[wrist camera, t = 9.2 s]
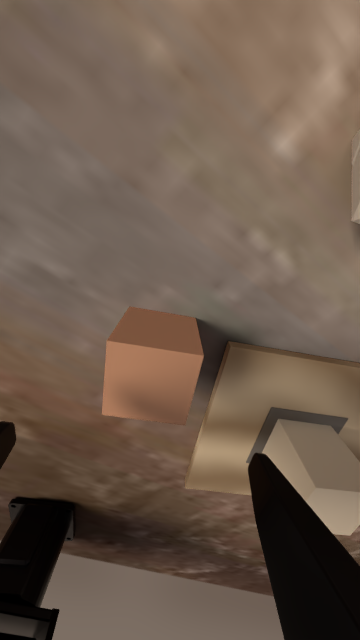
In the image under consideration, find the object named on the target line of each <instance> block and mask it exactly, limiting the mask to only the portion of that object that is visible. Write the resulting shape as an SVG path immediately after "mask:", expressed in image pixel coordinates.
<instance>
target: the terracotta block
mask: <svg viewBox="0 0 360 640" xmlns="http://www.w3.org/2000/svg"><path fill="white" fill-rule="evenodd" d="M203 357H204V354H203V350H202V345H201V340H200V336H199V331H198V326H197V322H196V318H193V317H187V316H181V315H176V314H170V313H164V312H158V311H152V310H147V309H141V308H135V307H129V308H128V310H127V311H126V313H125V314H124V316H123V317H122V319H121V320H120V322H119V323H118V325H117V326H116V328H115V329H114V331H113V332H112V334H111V335H110V337H109V338H108V340H107V347H106V362H105V377H104V392H103V408H102V415H108V416H116V417H123V418H131V419H139V420H146V421H154V422H162V423H169V424H177V425H185V424H186V421H187V417H188V413H189V409H190V406H191V402H192V398H193V395H194V391H195V387H196V383H197V380H198V376H199V372H200V368H201V365H202V361H203Z"/></svg>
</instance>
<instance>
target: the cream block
mask: <svg viewBox="0 0 360 640" xmlns="http://www.w3.org/2000/svg"><path fill="white" fill-rule="evenodd" d="M262 453H264V454H266V455H267V456H268V457H269V458H270V459H271V461H272V462H273V463H274V464H275V465H276V467H277V468H278V469H279V470H280V471H281V473H282V474H283V475H284V476H285V477H286V479H287V480H288V481H289V482H290V483H291V485H292V486H293V487H294V488H295V489H296V490H297V492H298V493H299V494H300V495H301V496H302V498H303V499H304V500H305V501H306V502H307V504H308V505H309V506H310V507H311V508H312V510H313V511H314V512H315V513H316V514H317V516H318V517H319V518H320V519H321V520H322V521H323V523H324V524H325V525H326V526H327V527H328V529H329V530H330V531H331V532H332V533H333V534H339V535H351V534H352V533H353V532H354V530H355V529H356V528H357V527H358V526H359V525H360V462H359V460H358V459H357V458H356V457H355V455H354V454H353V453H352V452H351V450H350V449H349V448H348V447H347V445H346V444H345V443H344V442H343V440H342V439H341V438H340V437H339V435H338V434H337V433H336V432H335V430H334V429H333V428H332V427H331V426H329V425H321V424H314V423H306V422H299V421H291V420H284V419H278V420H277V422H276V425H275V427H274V429H273V431H272V433H271V435H270V437H269V439H268V441H267V443H266V445H265V447H264V449H263V451H262Z"/></svg>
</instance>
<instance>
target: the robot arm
mask: <svg viewBox="0 0 360 640" xmlns="http://www.w3.org/2000/svg"><path fill="white" fill-rule="evenodd" d="M15 442H16V433H15V426H14V424H13V423H12V422H5V421H1V422H0V469H1V467H2V466H3V464H4V462H5V460H6V459H7V457H8V455H9V453H10V452H11V450H12V448H13V447H14V445H15ZM248 476H249V482H250V489H251V495H252V501H253V508H254V514H255V519H256V524H257V529H258V533H259V537H260V541H261V545H262V549H263V553H264V558H265V562H266V566H267V570H268V574H269V578H270V582H271V586H272V590H273V594H274V599H275V602H276V607H277V610H278V615H279V619H280V623H281V627H282V631H283V635H284V640H360V566H359V564H358V563H357V562H356V561H355V560H354V558H353V557H352V556H351V555H350V554H349V552H348V551H347V550H346V549H345V548H344V547H343V545H342V544H341V543H340V542H339V541H338V539H337V538H336V537H335V536H334V535H333V533H332V532H331V531H330V530H329V529H328V527H327V526H326V525H325V524H324V523H323V521H322V520H321V519H320V518H319V517H318V516H317V514H316V513H315V512H314V511H313V510H312V508H311V507H310V506H309V505H308V504H307V502H306V501H305V500H304V499H303V498H302V496H301V495H300V494H299V493H298V492H297V490H296V489H295V488H294V487H293V486H292V485H291V483H290V482H289V481H288V480H287V479H286V477H285V476H284V475H283V474H282V473H281V471H280V470H279V469H278V468H277V467H276V465H275V464H274V463H273V462H272V461H271V459H270V458H269V457H268V456H267V455H266V454H264V453H254V455H253V457H252V459H251V461H250V463H249V466H248ZM8 506H9V512H10V517H11V522H12V524H11V525H10V527H9V529H8V531H7V532H6V534H5V536H4V538H3V539H2V541H1V543H0V640H52V637H53V633H54V629H55V625H56V621H57V617H58V614H59V609H52V610H50V609H45V608H40V606H41V603H42V600H43V597H44V595H45V592H46V589H47V587H48V584H49V581H50V579H51V576H52V573H53V570H54V568H55V565H56V562H57V560H58V557H59V554H60V551H61V549H62V546H63V543H64V541H72V540H73V538H74V535H75V506H74V505H72V504H65V503H55V502H44V501H34V500H24V499H12V500H11V501H10V503H9V505H8Z"/></svg>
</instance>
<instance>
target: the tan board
mask: <svg viewBox="0 0 360 640" xmlns="http://www.w3.org/2000/svg"><path fill="white" fill-rule="evenodd" d="M278 419H284V420H291V421H299V422H306V423H314V424H321V425H329V426H331V427H332V428H333V429H334V430H335V432H336V433H337V434H338V435H339V437H340V438H341V439H342V440H343V442H344V443H345V444H346V445H347V447H348V448H349V449H350V450H351V452H352V453H353V454H354V455H355V457H356V458H357V459H358V460H359V462H360V363H356V362H350V361H344V360H338V359H333V358H327V357H321V356H315V355H309V354H303V353H297V352H291V351H285V350H279V349H273V348H267V347H261V346H255V345H249V344H243V343H237V342H231V341H228V343H227V346H226V349H225V353H224V356H223V359H222V362H221V365H220V369H219V372H218V375H217V378H216V381H215V385H214V388H213V391H212V394H211V397H210V401H209V404H208V407H207V410H206V413H205V417H204V420H203V423H202V426H201V429H200V433H199V436H198V439H197V442H196V445H195V449H194V452H193V455H192V458H191V461H190V465H189V468H188V471H187V474H186V477H185V488H189V489H198V490H207V491H217V492H226V493H235V494H245V495H251V489H250V482H249V476H248V466H249V463H250V461H251V459H252V457H253V455H254V453H262V451H263V449H264V447H265V445H266V443H267V441H268V439H269V437H270V435H271V433H272V431H273V429H274V427H275V425H276V422H277V420H278Z"/></svg>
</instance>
